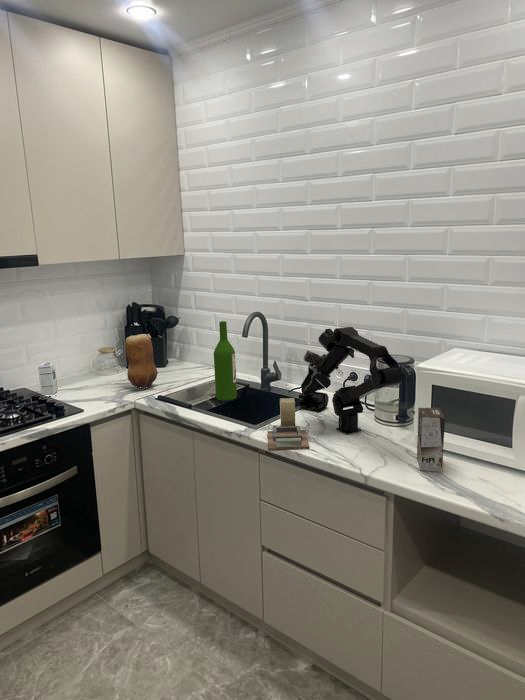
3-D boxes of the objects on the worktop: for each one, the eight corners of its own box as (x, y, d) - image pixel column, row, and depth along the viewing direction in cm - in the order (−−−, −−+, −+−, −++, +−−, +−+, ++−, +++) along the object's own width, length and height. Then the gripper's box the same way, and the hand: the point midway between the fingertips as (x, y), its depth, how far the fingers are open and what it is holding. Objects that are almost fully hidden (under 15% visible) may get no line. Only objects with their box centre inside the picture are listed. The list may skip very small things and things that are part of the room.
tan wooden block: (280, 425, 191) (279, 398, 189) (294, 424, 191) (293, 398, 189) (281, 430, 186) (280, 402, 184) (295, 429, 186) (294, 402, 184)
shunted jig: (267, 433, 183) (267, 425, 183) (305, 432, 183) (305, 424, 183) (268, 450, 169) (268, 442, 168) (309, 448, 169) (309, 440, 168)
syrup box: (55, 396, 234) (51, 364, 231) (41, 397, 233) (37, 365, 230) (58, 393, 240) (54, 362, 237) (44, 394, 239) (40, 362, 236)
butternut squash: (132, 384, 250) (127, 332, 245) (160, 383, 251) (156, 331, 246) (125, 392, 237) (120, 337, 232) (155, 391, 237) (151, 336, 232)
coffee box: (443, 472, 150) (445, 417, 146) (419, 471, 151) (421, 417, 148) (438, 458, 159) (440, 407, 155) (416, 457, 160) (417, 406, 156)
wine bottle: (237, 400, 221) (233, 323, 214) (215, 401, 221) (211, 323, 214) (236, 393, 230) (233, 319, 223) (216, 394, 229) (212, 320, 223)
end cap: (328, 408, 208) (328, 391, 206) (320, 413, 202) (320, 396, 201) (306, 404, 213) (306, 388, 212) (297, 409, 208) (297, 392, 206)
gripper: (314, 338, 191) (284, 368, 193) (320, 348, 173) (287, 382, 175) (336, 358, 193) (306, 388, 195) (344, 371, 174) (311, 404, 177)
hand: (302, 390), depth 185 cm, fingers open, 9 cm apart
